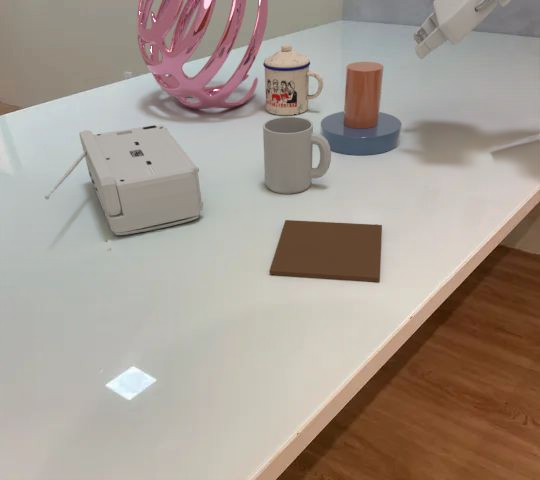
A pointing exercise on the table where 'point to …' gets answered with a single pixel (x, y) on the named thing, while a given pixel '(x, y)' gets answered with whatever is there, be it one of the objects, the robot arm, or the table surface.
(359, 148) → the stand
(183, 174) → the radio
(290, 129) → the cup
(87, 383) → the table surface
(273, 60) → the teacup with lid
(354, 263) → the mat
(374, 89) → the orange upright cylinder
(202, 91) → the spiral basket
